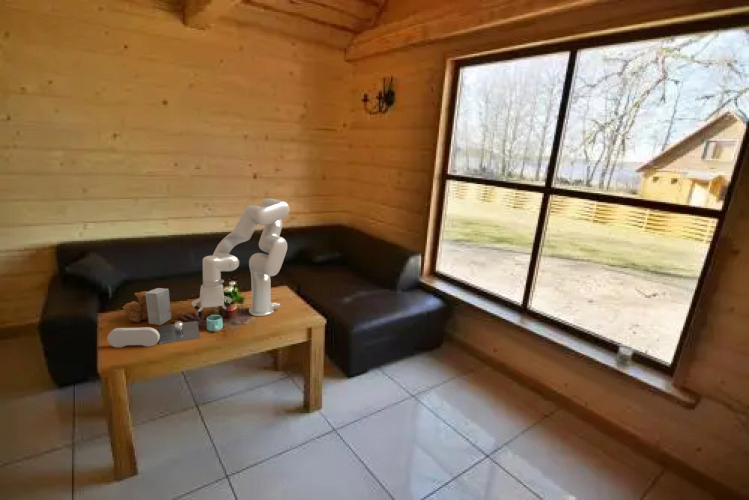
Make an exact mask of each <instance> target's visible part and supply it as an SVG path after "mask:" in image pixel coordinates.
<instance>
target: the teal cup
mask: <svg viewBox="0 0 749 500" xmlns="http://www.w3.org/2000/svg"><path fill="white" fill-rule="evenodd" d="M223 324H224V323H223V316H222V315H220V314H211V315H209V316H207V317H206V329H207V331H210V332H217V331H220V330H221V329H222V328H223V327H224V326H223Z"/></svg>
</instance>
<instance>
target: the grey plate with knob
mask: <svg viewBox="0 0 749 500" xmlns="http://www.w3.org/2000/svg"><path fill="white" fill-rule="evenodd" d="M199 327H200V326H199V322H198V320H194V321H186V322H183V321H180V320H179V321H178V320H177V321H175V322H174V323H172V324H166V325H159V331H158V332H159V334H160V339H159V341H158V344H159V345H162V344H168V343H175V342H182V341H188V340H193V339H194V340H195V339H200V338H201V334H200V329H199Z"/></svg>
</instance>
